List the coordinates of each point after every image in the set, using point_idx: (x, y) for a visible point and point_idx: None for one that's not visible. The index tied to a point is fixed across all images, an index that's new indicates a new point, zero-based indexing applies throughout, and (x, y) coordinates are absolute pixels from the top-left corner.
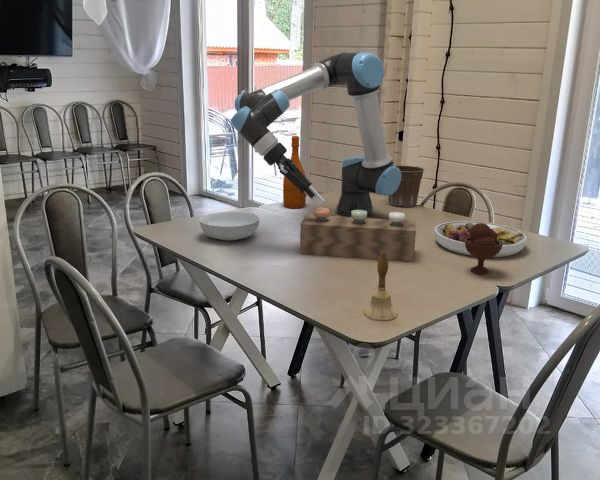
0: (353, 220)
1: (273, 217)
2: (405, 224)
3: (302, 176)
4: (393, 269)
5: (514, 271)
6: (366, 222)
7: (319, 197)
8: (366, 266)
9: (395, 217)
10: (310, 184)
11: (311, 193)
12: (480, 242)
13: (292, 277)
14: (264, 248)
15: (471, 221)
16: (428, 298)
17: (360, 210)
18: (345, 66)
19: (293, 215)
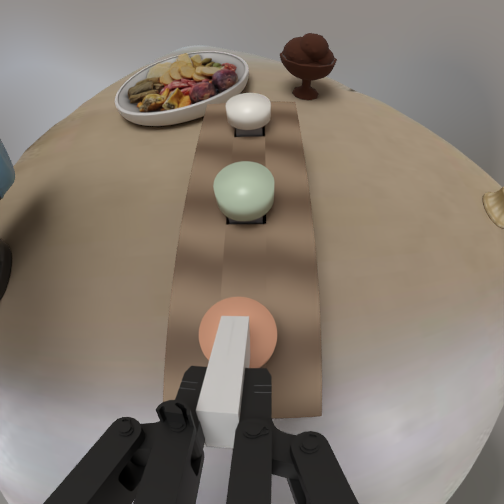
0: (223, 225)
1: (21, 455)
2: None
3: (143, 498)
4: (348, 182)
5: (290, 73)
6: None
7: (246, 339)
8: (352, 228)
9: (270, 109)
10: (190, 412)
11: (270, 391)
12: (332, 57)
13: (457, 367)
14: (273, 498)
15: (120, 90)
16: (433, 154)
17: (224, 180)
18: None
19: (2, 408)
